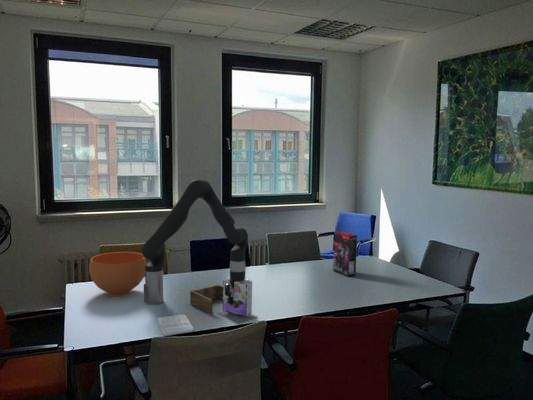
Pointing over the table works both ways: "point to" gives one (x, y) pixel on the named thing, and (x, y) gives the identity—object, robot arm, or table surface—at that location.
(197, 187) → the robot arm
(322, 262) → the table surface
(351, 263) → the graphics card box
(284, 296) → the table surface
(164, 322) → the calculator
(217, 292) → the walnut u-shaped frame
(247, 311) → the candy box
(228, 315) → the slate mat
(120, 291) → the bowl
